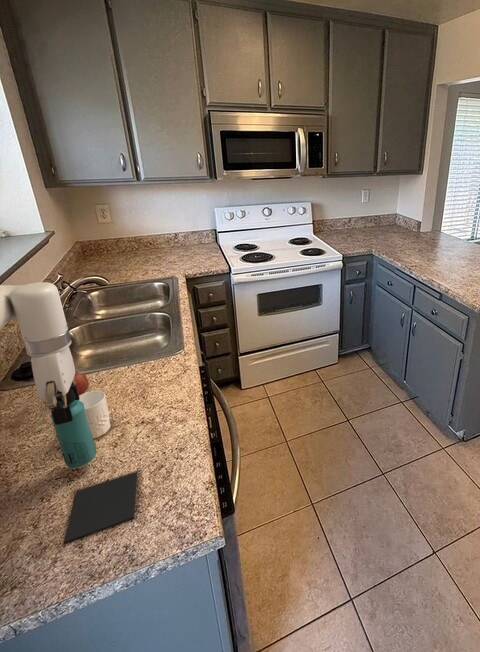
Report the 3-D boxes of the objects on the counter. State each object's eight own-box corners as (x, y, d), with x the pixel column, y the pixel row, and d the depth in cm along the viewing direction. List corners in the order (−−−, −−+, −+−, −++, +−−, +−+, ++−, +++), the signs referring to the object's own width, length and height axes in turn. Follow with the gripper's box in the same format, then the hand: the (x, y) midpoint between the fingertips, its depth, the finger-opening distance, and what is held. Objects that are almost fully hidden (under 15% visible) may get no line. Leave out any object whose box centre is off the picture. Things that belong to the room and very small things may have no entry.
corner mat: (65, 543, 69) (64, 542, 69) (77, 492, 79) (77, 490, 79) (134, 518, 73) (133, 516, 73) (137, 472, 84) (137, 471, 84)
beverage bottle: (103, 450, 89) (85, 382, 82) (91, 472, 82) (71, 400, 76) (74, 454, 87) (54, 385, 81) (60, 476, 81) (37, 404, 75)
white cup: (76, 445, 92) (66, 413, 89) (82, 425, 99) (73, 395, 96) (111, 435, 95) (103, 404, 92) (114, 416, 102) (106, 387, 99)
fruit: (56, 408, 106) (47, 379, 102) (65, 392, 113) (57, 364, 110) (87, 402, 108) (79, 374, 105) (94, 386, 115) (87, 359, 112)
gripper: (38, 327, 80) (57, 393, 86) (10, 367, 65) (36, 444, 71) (77, 321, 83) (93, 385, 89) (59, 358, 68) (80, 432, 74)
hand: (68, 411), depth 80 cm, fingers closed on beverage bottle, 6 cm apart
